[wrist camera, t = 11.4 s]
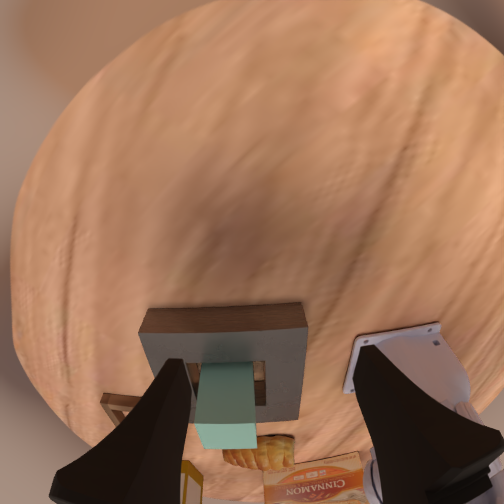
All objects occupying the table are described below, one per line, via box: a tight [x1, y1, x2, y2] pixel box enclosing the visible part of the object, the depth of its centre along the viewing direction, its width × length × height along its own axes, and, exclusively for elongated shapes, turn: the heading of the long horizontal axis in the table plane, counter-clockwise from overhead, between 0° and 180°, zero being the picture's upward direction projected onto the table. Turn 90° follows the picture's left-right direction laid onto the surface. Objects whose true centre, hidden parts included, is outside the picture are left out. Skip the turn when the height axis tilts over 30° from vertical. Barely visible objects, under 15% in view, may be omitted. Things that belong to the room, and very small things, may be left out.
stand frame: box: [100, 393, 141, 427], centre depth 28 cm, size 8×8×2 cm
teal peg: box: [194, 361, 257, 449], centre depth 21 cm, size 4×4×8 cm
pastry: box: [222, 435, 295, 471], centre depth 31 cm, size 9×7×4 cm
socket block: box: [138, 303, 308, 423], centre depth 24 cm, size 12×12×3 cm
